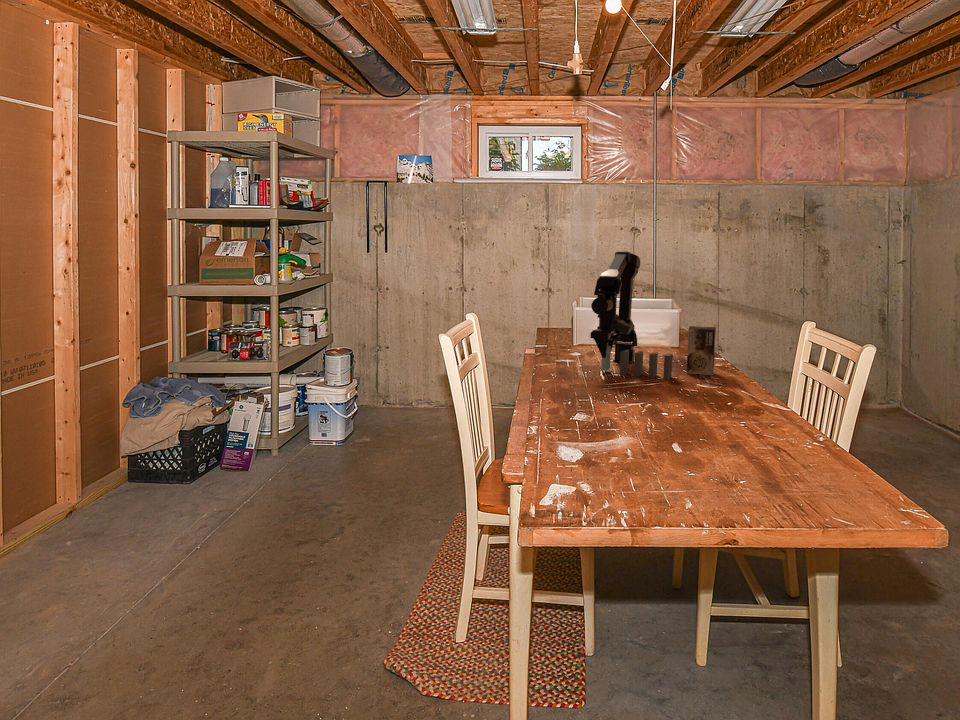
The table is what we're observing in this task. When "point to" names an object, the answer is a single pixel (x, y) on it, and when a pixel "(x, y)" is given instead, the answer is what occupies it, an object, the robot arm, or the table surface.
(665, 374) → the black domino
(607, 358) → the teal domino
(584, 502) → the table surface
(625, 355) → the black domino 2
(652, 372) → the black domino
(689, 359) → the coffee box
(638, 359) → the black domino
